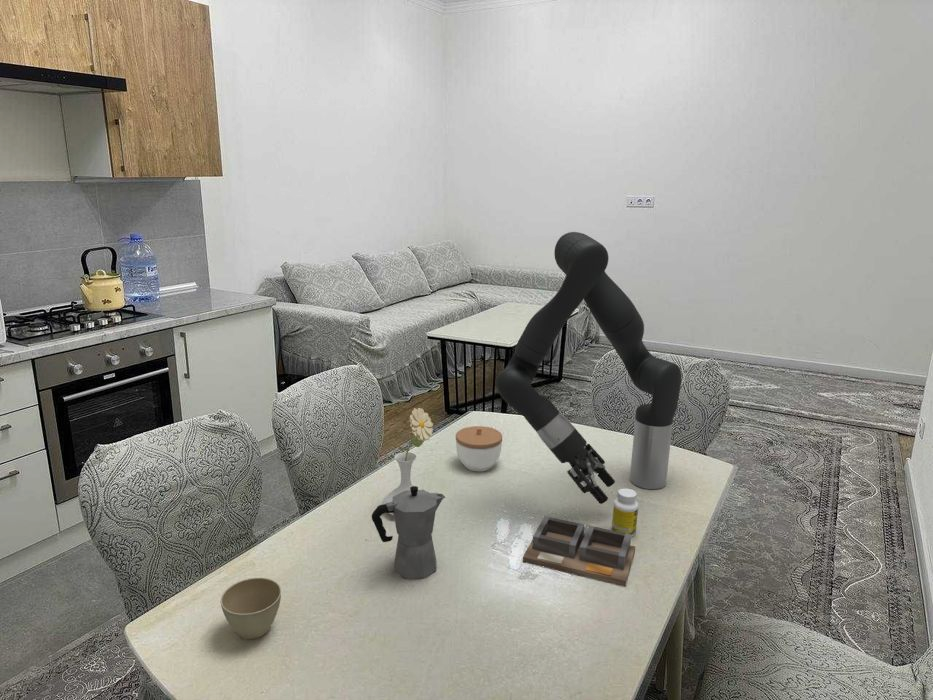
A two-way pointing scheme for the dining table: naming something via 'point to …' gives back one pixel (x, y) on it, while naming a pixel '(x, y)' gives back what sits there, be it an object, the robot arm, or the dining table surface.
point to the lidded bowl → (478, 447)
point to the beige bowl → (251, 606)
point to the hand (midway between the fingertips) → (608, 492)
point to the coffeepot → (411, 531)
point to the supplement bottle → (625, 512)
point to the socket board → (581, 550)
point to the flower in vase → (405, 459)
